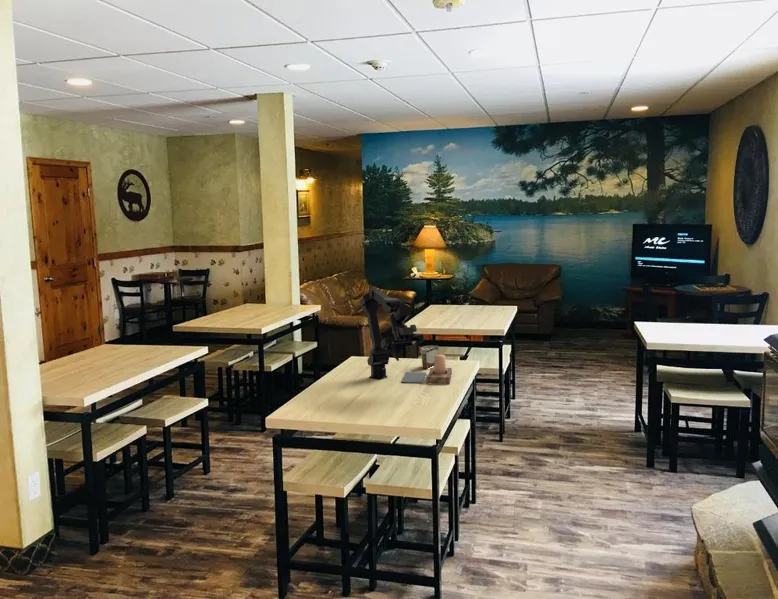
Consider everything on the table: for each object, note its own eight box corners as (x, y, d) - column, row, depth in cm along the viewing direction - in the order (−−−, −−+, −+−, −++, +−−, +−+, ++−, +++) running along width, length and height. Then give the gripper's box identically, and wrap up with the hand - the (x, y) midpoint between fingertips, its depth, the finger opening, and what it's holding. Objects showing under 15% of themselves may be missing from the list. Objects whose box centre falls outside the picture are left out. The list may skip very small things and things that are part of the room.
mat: (401, 383, 300) (401, 381, 300) (405, 373, 318) (405, 371, 318) (423, 383, 298) (423, 382, 298) (426, 373, 316) (426, 372, 316)
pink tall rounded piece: (432, 379, 306) (431, 355, 304) (438, 376, 310) (438, 353, 308) (441, 380, 303) (441, 357, 301) (447, 378, 307) (447, 355, 305)
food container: (428, 363, 336) (428, 344, 335) (438, 365, 333) (438, 345, 331) (415, 368, 326) (414, 348, 325) (425, 370, 323) (425, 350, 321)
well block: (427, 383, 298) (427, 377, 298) (430, 373, 316) (430, 367, 315) (449, 384, 297) (449, 377, 296) (451, 374, 314) (451, 367, 314)
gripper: (385, 320, 276) (395, 354, 270) (424, 316, 284) (434, 349, 278) (376, 330, 285) (385, 364, 280) (414, 326, 293) (424, 359, 288)
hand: (407, 359), depth 281 cm, fingers open, 9 cm apart
